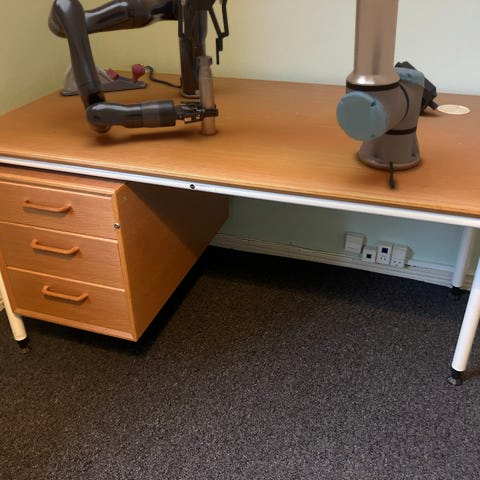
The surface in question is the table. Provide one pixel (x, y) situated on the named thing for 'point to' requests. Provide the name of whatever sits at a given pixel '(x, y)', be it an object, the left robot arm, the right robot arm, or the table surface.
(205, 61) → the cap
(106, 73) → the hand plane
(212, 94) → the bottle
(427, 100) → the tool
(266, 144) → the table surface
